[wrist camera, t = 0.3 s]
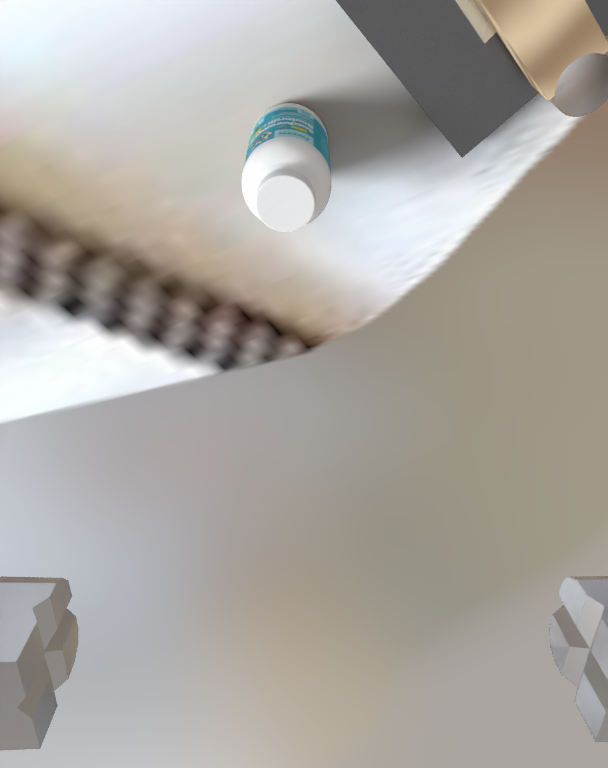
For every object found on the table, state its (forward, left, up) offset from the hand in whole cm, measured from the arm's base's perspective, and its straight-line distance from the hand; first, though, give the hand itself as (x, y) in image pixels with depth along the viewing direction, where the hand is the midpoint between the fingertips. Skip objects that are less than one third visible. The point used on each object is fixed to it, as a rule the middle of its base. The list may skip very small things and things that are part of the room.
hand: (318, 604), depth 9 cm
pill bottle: (+8, +6, -51) cm, 52 cm away
